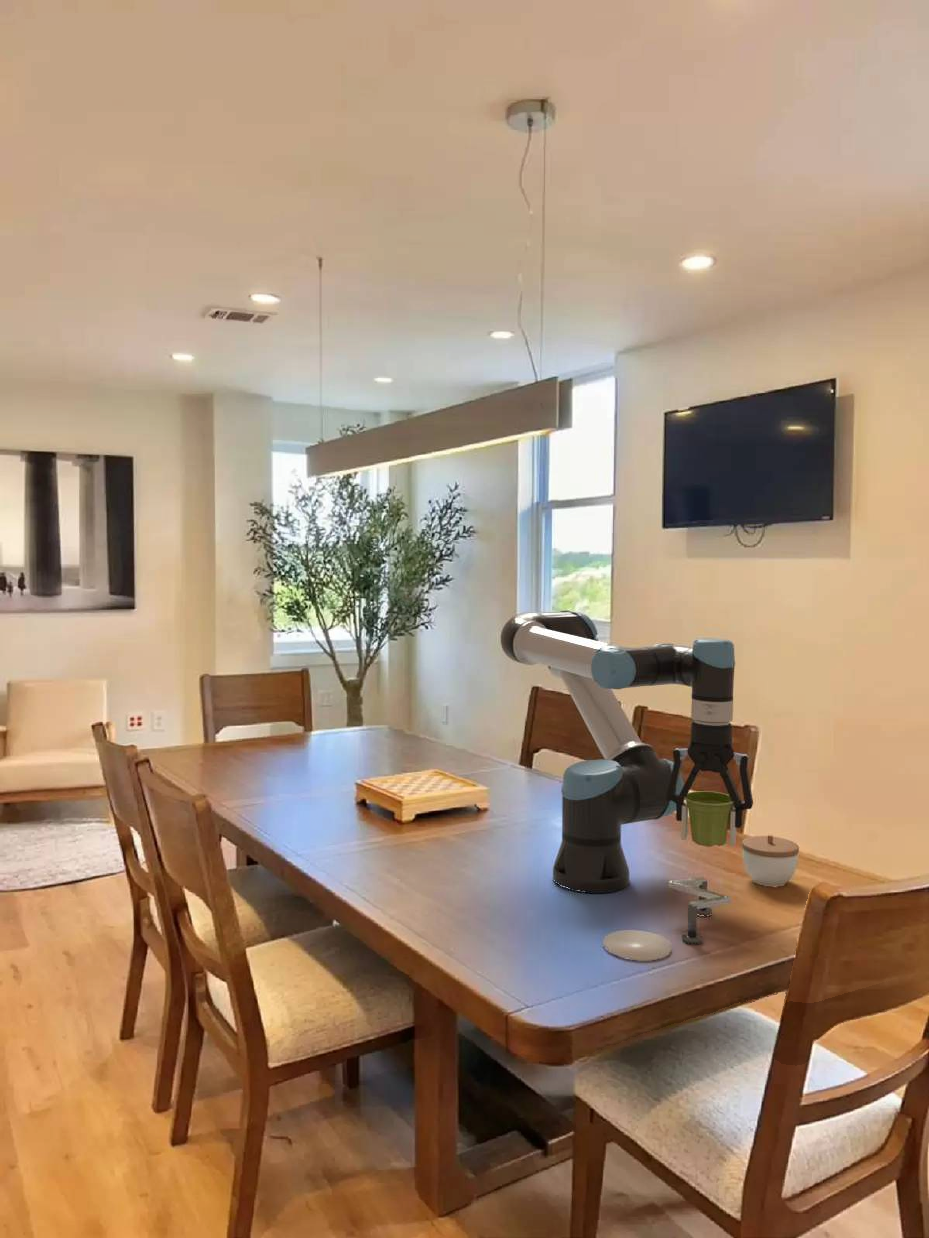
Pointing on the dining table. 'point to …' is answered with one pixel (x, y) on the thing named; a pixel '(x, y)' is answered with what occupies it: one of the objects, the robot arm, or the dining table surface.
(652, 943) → the pad
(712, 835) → the plant pot
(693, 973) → the dining table surface
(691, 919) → the zigzag bar on posts
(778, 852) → the lidded jar
